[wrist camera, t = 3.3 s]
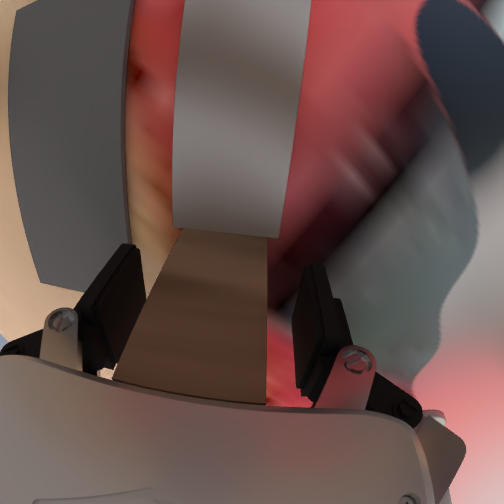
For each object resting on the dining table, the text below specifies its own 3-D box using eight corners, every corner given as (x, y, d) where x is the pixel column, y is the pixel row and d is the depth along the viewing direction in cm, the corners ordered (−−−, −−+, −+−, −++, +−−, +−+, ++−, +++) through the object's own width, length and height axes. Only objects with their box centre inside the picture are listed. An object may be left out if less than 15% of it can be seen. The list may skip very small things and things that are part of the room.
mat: (139, 297, 15) (137, 302, 15) (43, 278, 15) (40, 282, 14) (140, -29, 7) (136, -32, 6) (21, 11, 6) (16, 10, 6)
